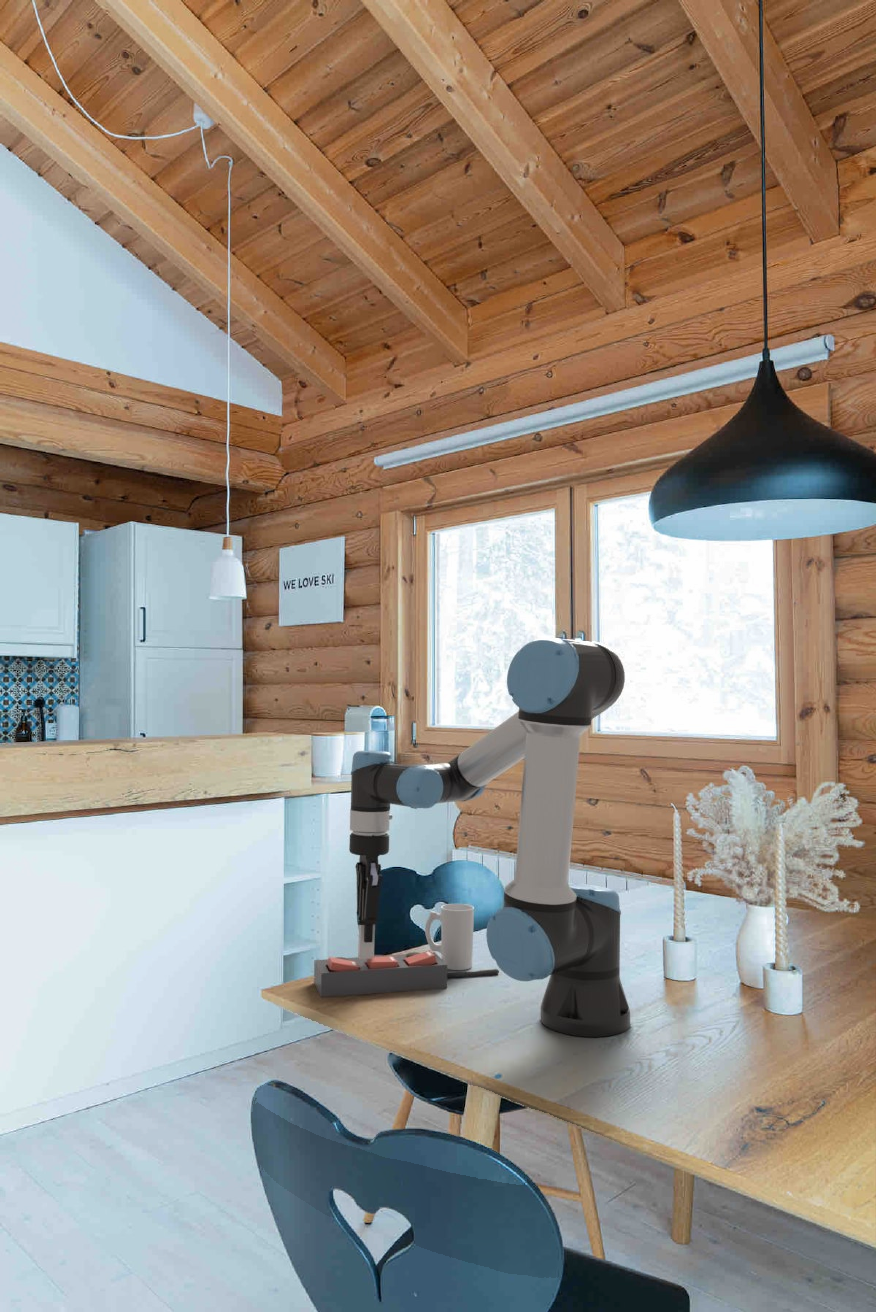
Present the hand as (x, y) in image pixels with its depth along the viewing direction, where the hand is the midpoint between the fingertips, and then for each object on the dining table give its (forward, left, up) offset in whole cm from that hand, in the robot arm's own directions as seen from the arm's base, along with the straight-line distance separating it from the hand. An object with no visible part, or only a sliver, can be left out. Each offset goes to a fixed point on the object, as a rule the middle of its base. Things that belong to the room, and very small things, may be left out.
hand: (365, 957), depth 180 cm
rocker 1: (0, +4, -1) cm, 5 cm away
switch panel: (+1, -9, -6) cm, 11 cm away
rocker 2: (0, -3, -1) cm, 3 cm away
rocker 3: (0, -11, -1) cm, 11 cm away
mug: (+11, -20, -6) cm, 23 cm away
